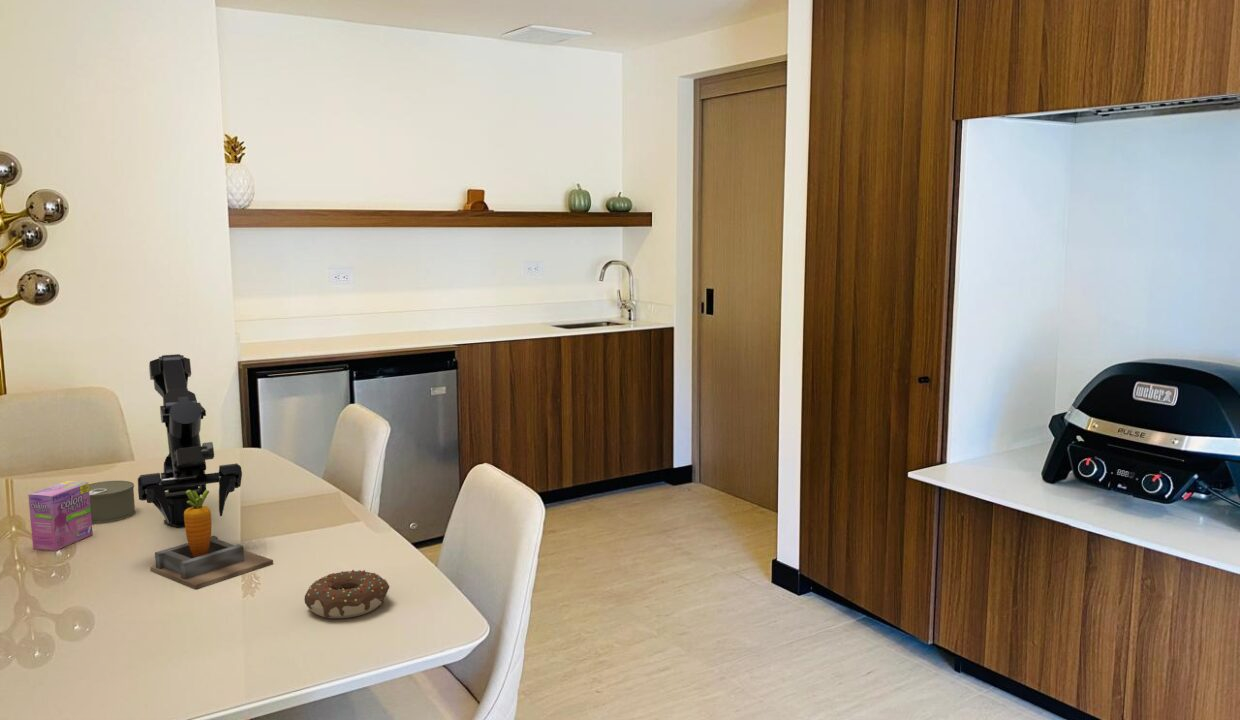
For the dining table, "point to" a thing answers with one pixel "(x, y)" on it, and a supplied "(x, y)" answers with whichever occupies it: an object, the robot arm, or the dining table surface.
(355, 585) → the donut
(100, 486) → the can
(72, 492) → the box
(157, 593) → the dining table surface
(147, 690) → the dining table surface
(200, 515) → the carrot
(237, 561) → the grey frame on base
